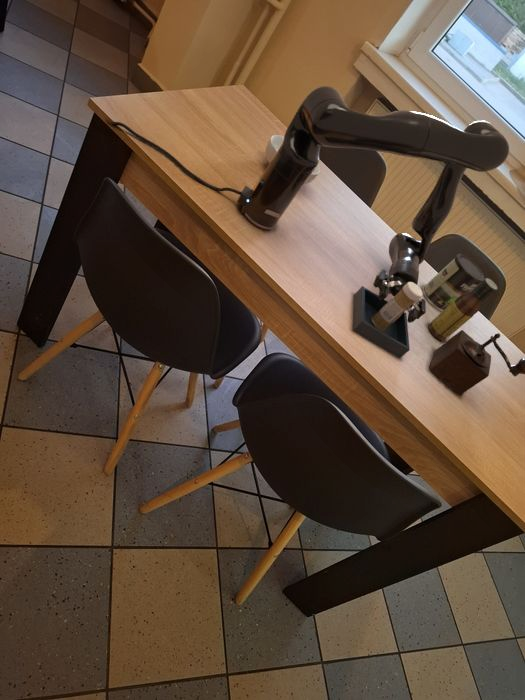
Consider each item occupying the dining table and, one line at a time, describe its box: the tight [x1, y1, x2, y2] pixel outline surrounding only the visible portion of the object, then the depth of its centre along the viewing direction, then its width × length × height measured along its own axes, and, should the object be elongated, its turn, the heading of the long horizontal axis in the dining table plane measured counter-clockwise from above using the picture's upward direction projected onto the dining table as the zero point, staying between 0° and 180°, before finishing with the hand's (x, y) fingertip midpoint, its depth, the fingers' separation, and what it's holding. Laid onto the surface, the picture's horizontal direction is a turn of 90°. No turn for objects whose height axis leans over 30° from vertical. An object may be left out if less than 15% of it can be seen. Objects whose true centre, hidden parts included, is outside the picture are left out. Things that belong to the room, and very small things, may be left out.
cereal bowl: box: [265, 134, 321, 185], centre depth 144 cm, size 17×17×7 cm
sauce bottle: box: [428, 277, 498, 341], centre depth 130 cm, size 7×6×20 cm
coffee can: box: [421, 253, 486, 312], centre depth 145 cm, size 10×10×14 cm
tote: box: [352, 285, 411, 359], centre depth 121 cm, size 14×14×4 cm
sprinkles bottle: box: [371, 282, 424, 331], centre depth 117 cm, size 5×5×14 cm
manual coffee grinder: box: [428, 329, 525, 397], centre depth 120 cm, size 16×11×18 cm
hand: (397, 309), depth 115 cm, fingers open, 8 cm apart
